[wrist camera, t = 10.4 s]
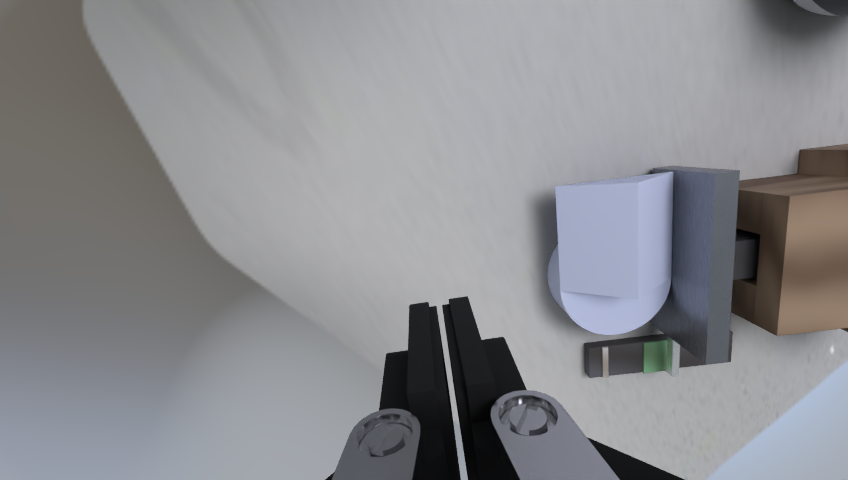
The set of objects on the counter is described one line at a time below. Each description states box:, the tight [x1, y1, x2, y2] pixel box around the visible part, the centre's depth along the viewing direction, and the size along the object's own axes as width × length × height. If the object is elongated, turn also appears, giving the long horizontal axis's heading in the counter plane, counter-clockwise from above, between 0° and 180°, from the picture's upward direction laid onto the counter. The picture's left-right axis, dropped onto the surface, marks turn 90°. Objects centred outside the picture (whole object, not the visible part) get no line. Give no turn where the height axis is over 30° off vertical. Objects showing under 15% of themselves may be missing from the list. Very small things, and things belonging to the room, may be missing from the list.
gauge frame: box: [584, 144, 848, 378], centre depth 31 cm, size 18×22×8 cm
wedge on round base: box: [547, 172, 673, 335], centre depth 31 cm, size 9×7×13 cm
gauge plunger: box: [651, 166, 761, 377], centre depth 31 cm, size 18×10×7 cm, turn 7°
